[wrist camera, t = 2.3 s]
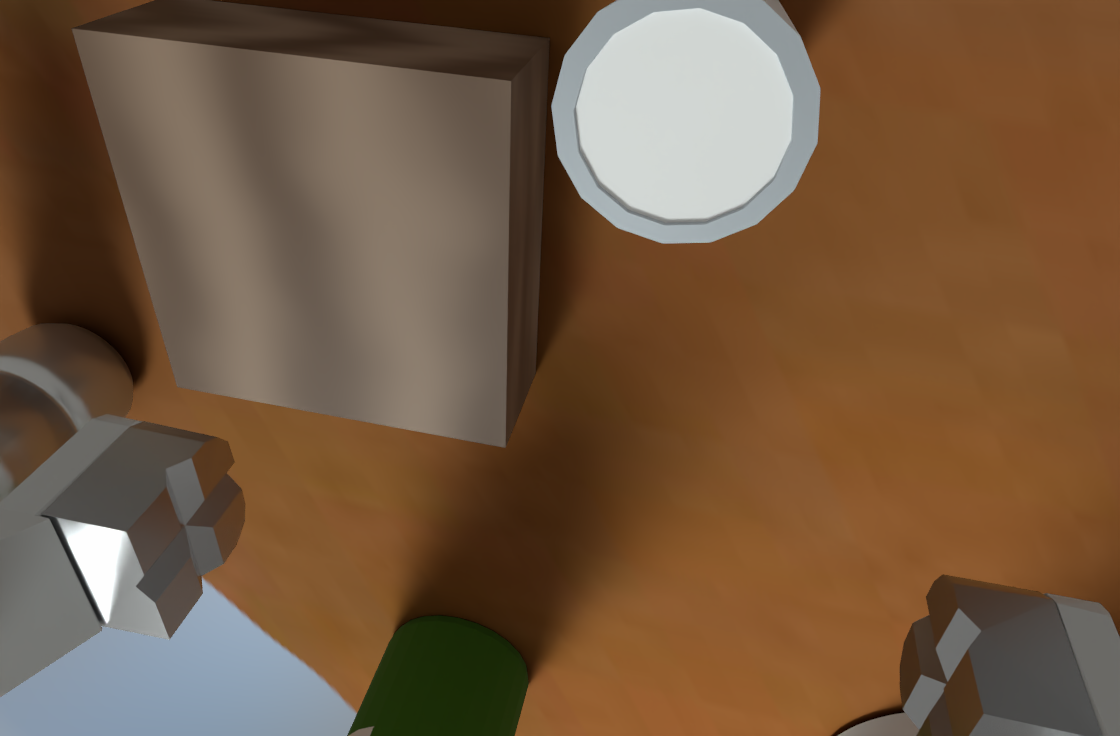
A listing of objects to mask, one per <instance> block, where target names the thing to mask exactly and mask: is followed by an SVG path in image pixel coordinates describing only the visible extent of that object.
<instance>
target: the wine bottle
mask: <svg viewBox="0 0 1120 736" xmlns="http://www.w3.org/2000/svg"><path fill="white" fill-rule="evenodd" d="M528 684H529V683H528V673H527V668H526V664H525V662H524V660H523V659H522V657H521V655H520V653H519V652H518V651H517V650H516V649H515V648H514V647H513V646H512V645H511V644H510V643H509V642H508V641H507V640H505V639H504V638H502V637H501V636H500V635H498V634H497V633H495V632H494V631H492V630H490V629H488V628H486V627H483V626H481V625H479V624H477V623H474V622H471V621H467V620H464V619H461V618H456V617H449V616H441V615H438V616H423V617H420V618H416V619H413V620H410V621H409V622H407V623H406V624H404V625H403V626H401V627H400V628H399V629H398V630H397V631H396V632H395V634H394V635H393V637H392V639H391V640H390V642H389V644H388V646H387V648H386V651H385V653H384V655H383V657H382V660H381V662H380V664H379V666H378V669H377V671H376V673H375V675H374V677H373V680H372V682H371V684H370V686H369V689H368V691H367V693H366V695H365V697H364V700H363V702H362V704H361V706H360V709H359V711H358V713H357V715H356V718H355V720H354V722H353V724H352V727H351V729H350V731H349V733H348V735H347V736H515V732H516V728H517V725H518V721H519V717H520V714H521V710H522V706H523V703H524V699H525V695H526V692H527V688H528Z"/></svg>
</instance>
